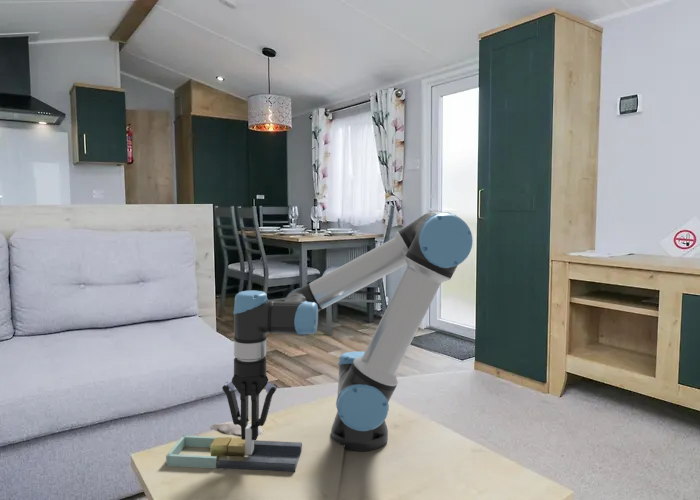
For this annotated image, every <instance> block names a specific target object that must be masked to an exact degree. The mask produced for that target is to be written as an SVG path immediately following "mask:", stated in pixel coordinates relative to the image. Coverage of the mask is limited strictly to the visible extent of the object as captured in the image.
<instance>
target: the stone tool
mask: <svg viewBox="0 0 700 500" xmlns="http://www.w3.org/2000/svg"><path fill="white" fill-rule="evenodd" d="M210 430H213V431H215V430H216V431H220V432H222V433H225V434H227V435H236V436H241V426H240V425H238V424H237V425H235V424H234V423H233V421H226V422H223V423H213V424H211V426H210ZM263 433H264V429H263V428H261V426H258V436H260V435H263Z"/></svg>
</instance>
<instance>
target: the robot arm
mask: <svg viewBox="0 0 700 500" xmlns="http://www.w3.org/2000/svg"><path fill="white" fill-rule="evenodd" d="M472 248H473V234H472V231H471V228H470V227H469V226H468V223H466V221H464V219H462V218H461V217H459V216H457V214H453V213H451V212H446V211H445V212H443V211H436V210H435V211H430V212H429V211H428V212H427V213H425V214H422V215H421V216H420V217H418V218H417V219H416V220H414V221H413V222H410V224H408V225H406V226H404V227H403V228H402V229H401V228H400V230H398V231H396V233H395V236H394V237H393V238H391V239H389V240H387V241H385V242H384V243H382V244H380V245H378V246H376V247H374V248H372V249H371V250H369V251H367V252H365V253H363V254H361V255H360V256H358V257H355V258H354V259H352V260H351V261H349V262H346V263H345V264H343V265H341V266H339V267H337V268H335V269H333V270H331V271H329V272H328V273H326V274H324V275H323V276H320V277H318V278H317V279H315V280H313V281H312V282H310V283H308V284H306V285H304V286H302V287H300V288H299V287H298V288H296V289H293V290H291V291H290V292H289V293H288V294H287V295H286V297H285V299H284V300H283V301H282V300H279V301H278V300H277V301H275V300H269V299H268V297H267V296H268V295H267V293H266V292H265V291H262V290H254V289H253V290H244V291H243V290H242V291H239V292H238V293H236V294H235V297H234V306H233V335H234V336H233V356H234V358H233V376H232V378H231V380H230V381H226V382H225V383H224V385H223V386H222V390H223V392H224V394H225V395H226V399H227V402H228V407H229V411H230V415H231V418H232V422H233V423H234V424H235V425H237V424H238V425H240V426H241V435H240V438H242V440H245V455H251V454H252V452H253V450H254V440H257V439H258V437H259V435H258V426H259V427H263V426H264V425H265V423H266V421H267V417H268V414H269V411H270V410H269V409H270V407H271V402H272V399H273V396H274V394H275V393H276V391H277V389H278V385H277V384H272V383H271V382H270V381H269V378H268V376H267V357H266V356H267V334H285V335H301V336H303V335H313V334H315V333H317V331H318V325H319V324H318V323H319V312H320V311H322V310H324V309H325V308H327V307H330V306H331V305H334V304H335V303H337V302H339V301H340V300H343V299H344V298H347V297H348V296H350V295H352V294H354V293H355V292H358V291H360V290H362V289H364V288H365V287H367V286H369V285H371V284H372V283H374V282H376V281H379V280H380V279H382V278H384V277H385V276H388V275H390V274H391V273H393V272H396V271H397V270H399V269H401V268H403V267H405V266H407V267H406V269H405V271H404V273H403V275H402V277H401V278H400V281H399V283H398V284H397V287H396V289H395V290H394V293H393V295H392V297H391V299H390V300H389V303H388V304H387V307H386V308H385V311H384V314H383V315H382V317H381V319H380V321H379V323H378V325H377V327H376V329H375V331H374V333H373V335H372V337H371V339H370V341H369V343H368V345H367V346H366V347H367V348H366V349H365V351H347V352H344V353H342V354H340V356H339V357H338V358H339V359H338V363H337V365H338V381H337V383H338V386H337V397H336V402H335V406H336V409H337V412H336V414H335V417H334V420H333V424H332V426H331V434H330V435H331V437H332V439H333V440H334V441H335V442H336V443H338V444H340V445H342V446H344V449H345V450H350V451H355V452H366V451H372V450H377V449H379V448H381V447H383V446H384V445H385V444H386V443H387V442H388V439H389V434H388V433H389V430H388V426H387V421H386V419H387V418H388V417H387V416H388V414H389V407H390V405H389V402H390V400H391V398H392V396H393V393H394V392H395V390H396V388H397V386H398V384H399V380H398V377H397V375H396V374H397V371H398V370H399V367H400V365H401V363H402V362H403V359H404V357H405V355H406V353H407V352H408V349H410V348H409V347H410V346H411V343H412V341H413V340H414V337H415V335H416V334H417V332H418V329H419V328H420V326H421V324H422V321H423V320H424V318H425V315H426V314H427V311H428V310H429V307H430V306H431V304H432V302H433V300H434V298H435V295H436V294H437V292H438V290H439V288H440V286H441V284H442V283H444V282H447V281H450V280H451V279H452V277H453V275H454V273H455V272H456V269H457V268H458V265H461V264H462V263H463V262H464V261H466V259H467V258H468V257H469V255H470V253H471V251H472ZM235 388H236V390H237V391H238V393H239V396H240V397H239V400H240V408H239V405H238V399H237V396H236V393H235V392H236V391H235ZM264 388H265V392H266V393H267V394H266V395H265V398H264V402H263V407H262V410H261V414H260V394H261V392H262V391H263V390H264ZM249 396H250V401H251V403H250V404H251V406H250V408H251V416H250V417H251V420H250V419H249ZM249 421H251V422H249Z"/></svg>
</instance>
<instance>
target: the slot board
mask: <svg viewBox="0 0 700 500" xmlns="http://www.w3.org/2000/svg"><path fill="white" fill-rule="evenodd" d="M302 451H303V442H301V441H300V442H298V441H296V442H295V441H279V440H277V441H276V440H274V441H273V440H259V439H258V440H257V439H256V440H254V450H253V452H252V454H251V455H248V457H240V456H220V457H219V459H218V461H217V468H218V469H223V470H224V469H225V470H241V471H242V470H245V471H247V470H248V471H262V472H263V471H265V472H282V473H283V472H286V473H296V469H297V466H298V463H299V461H300V457H301V454H302Z"/></svg>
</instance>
